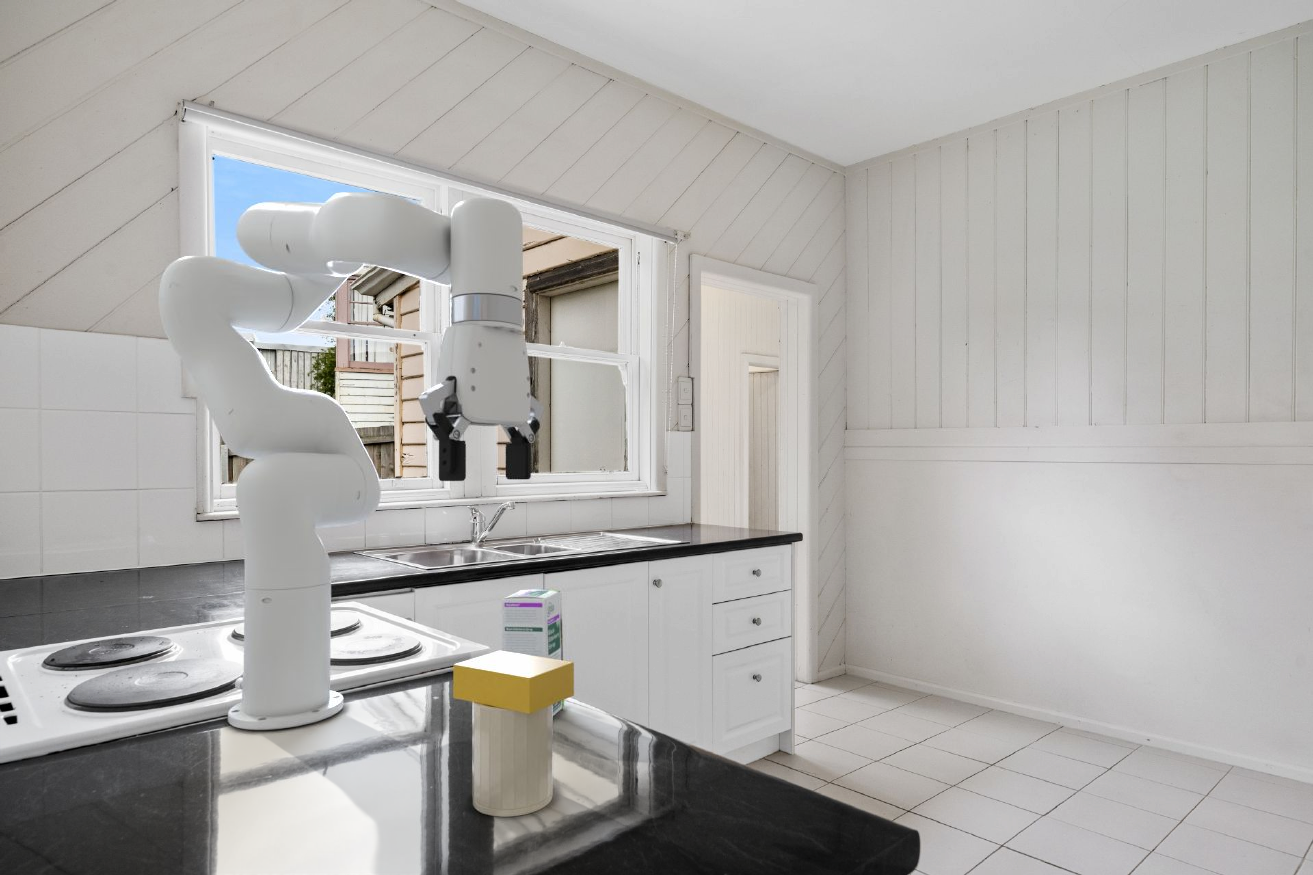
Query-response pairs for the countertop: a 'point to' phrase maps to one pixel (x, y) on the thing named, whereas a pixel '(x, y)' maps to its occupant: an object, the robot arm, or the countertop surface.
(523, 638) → the syrup box
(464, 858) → the countertop surface
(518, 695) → the block
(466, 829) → the countertop surface
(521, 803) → the cup
